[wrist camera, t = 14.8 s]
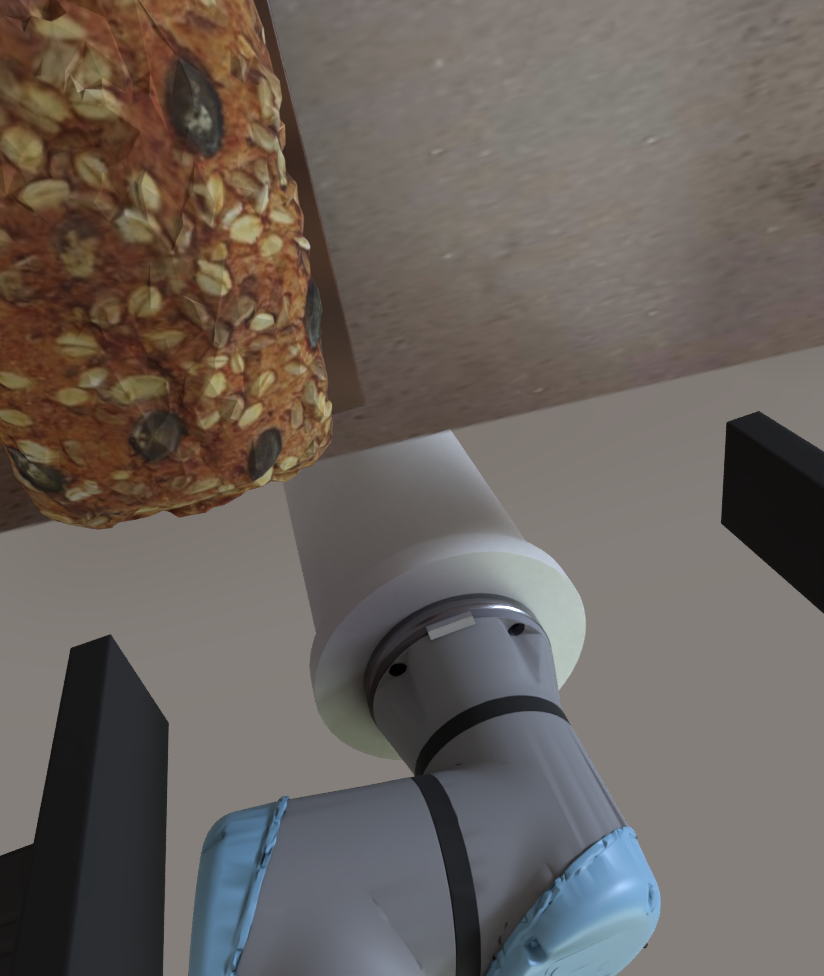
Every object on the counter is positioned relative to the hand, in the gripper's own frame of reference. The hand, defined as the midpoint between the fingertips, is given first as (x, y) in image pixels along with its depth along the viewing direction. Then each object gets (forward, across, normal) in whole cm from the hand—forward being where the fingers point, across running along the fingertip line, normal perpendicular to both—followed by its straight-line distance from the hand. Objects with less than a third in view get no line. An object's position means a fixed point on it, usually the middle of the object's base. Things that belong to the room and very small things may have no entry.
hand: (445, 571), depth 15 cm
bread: (+18, -5, +6) cm, 20 cm away
